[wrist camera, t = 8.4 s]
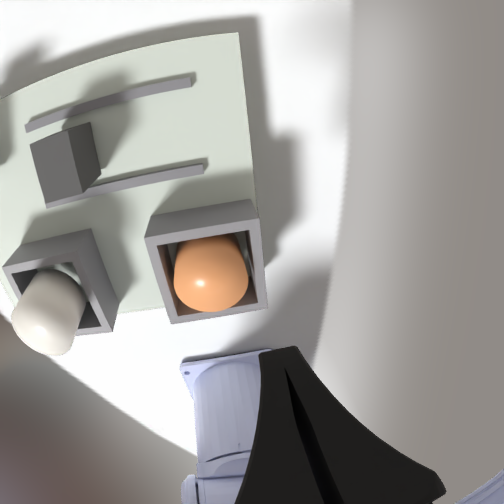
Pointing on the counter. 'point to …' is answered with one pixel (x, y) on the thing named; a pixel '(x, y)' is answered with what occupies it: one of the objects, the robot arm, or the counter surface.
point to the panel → (134, 178)
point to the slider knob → (66, 162)
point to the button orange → (210, 272)
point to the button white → (49, 312)
